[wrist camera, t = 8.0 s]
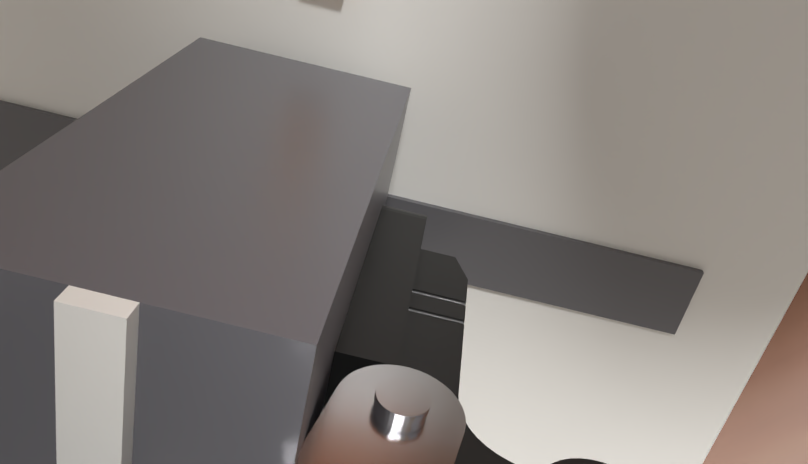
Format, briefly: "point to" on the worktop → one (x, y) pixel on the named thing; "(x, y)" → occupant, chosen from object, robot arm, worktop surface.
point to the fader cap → (189, 261)
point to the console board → (534, 182)
